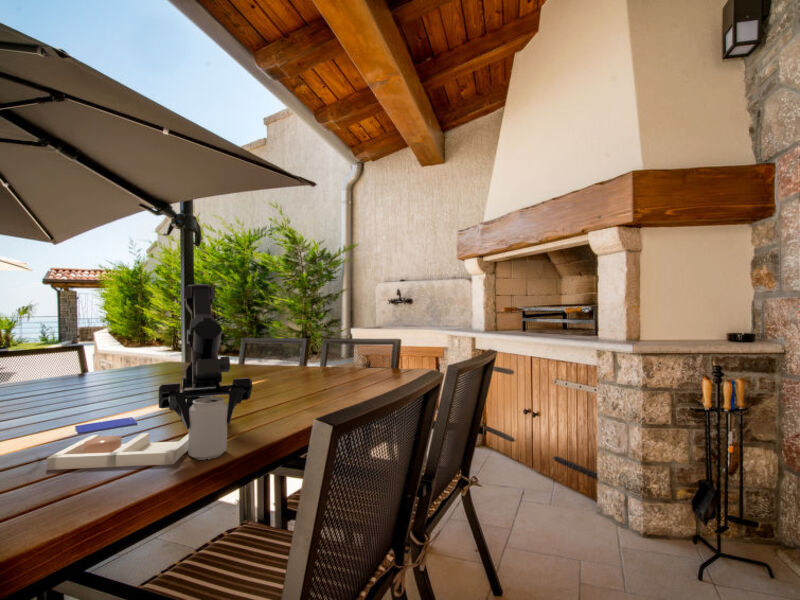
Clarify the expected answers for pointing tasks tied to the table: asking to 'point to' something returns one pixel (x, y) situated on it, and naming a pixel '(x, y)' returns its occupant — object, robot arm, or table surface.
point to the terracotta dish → (102, 444)
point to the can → (207, 428)
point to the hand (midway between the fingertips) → (208, 425)
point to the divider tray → (120, 454)
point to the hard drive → (105, 425)
